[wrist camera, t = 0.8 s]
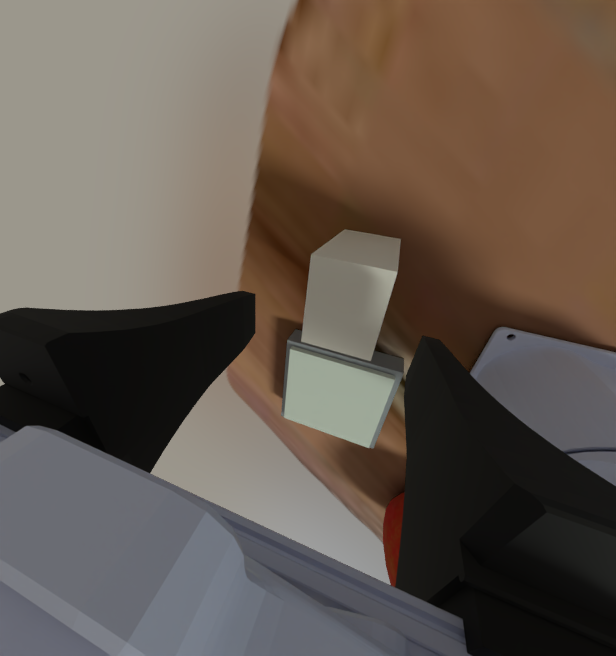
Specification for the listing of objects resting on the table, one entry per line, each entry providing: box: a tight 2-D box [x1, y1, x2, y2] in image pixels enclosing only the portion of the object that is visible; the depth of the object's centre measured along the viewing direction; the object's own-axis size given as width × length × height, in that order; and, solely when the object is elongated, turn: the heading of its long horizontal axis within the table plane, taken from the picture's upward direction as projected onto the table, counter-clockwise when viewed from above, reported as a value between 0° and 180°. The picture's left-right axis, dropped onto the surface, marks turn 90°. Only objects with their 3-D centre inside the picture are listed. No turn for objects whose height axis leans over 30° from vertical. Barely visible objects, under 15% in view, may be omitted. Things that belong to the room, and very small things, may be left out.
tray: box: [281, 329, 404, 448], centre depth 25 cm, size 10×10×2 cm
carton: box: [301, 229, 401, 361], centre depth 16 cm, size 4×5×8 cm
